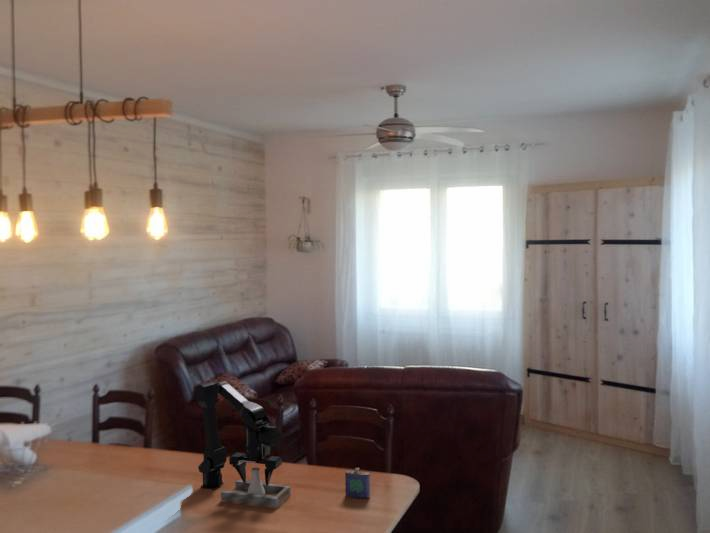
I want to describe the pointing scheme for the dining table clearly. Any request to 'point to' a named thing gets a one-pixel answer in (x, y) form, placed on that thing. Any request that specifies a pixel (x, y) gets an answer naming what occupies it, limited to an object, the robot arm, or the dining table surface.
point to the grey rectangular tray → (271, 500)
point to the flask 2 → (357, 484)
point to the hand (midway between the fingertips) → (255, 483)
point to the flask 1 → (256, 483)
